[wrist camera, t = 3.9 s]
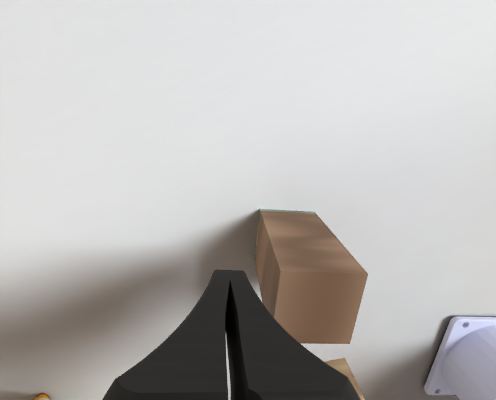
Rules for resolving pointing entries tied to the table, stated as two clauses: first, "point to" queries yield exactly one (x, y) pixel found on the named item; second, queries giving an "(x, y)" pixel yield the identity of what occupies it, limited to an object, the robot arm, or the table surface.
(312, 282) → the walnut block
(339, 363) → the oak block
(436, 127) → the table surface
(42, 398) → the bird rattle
